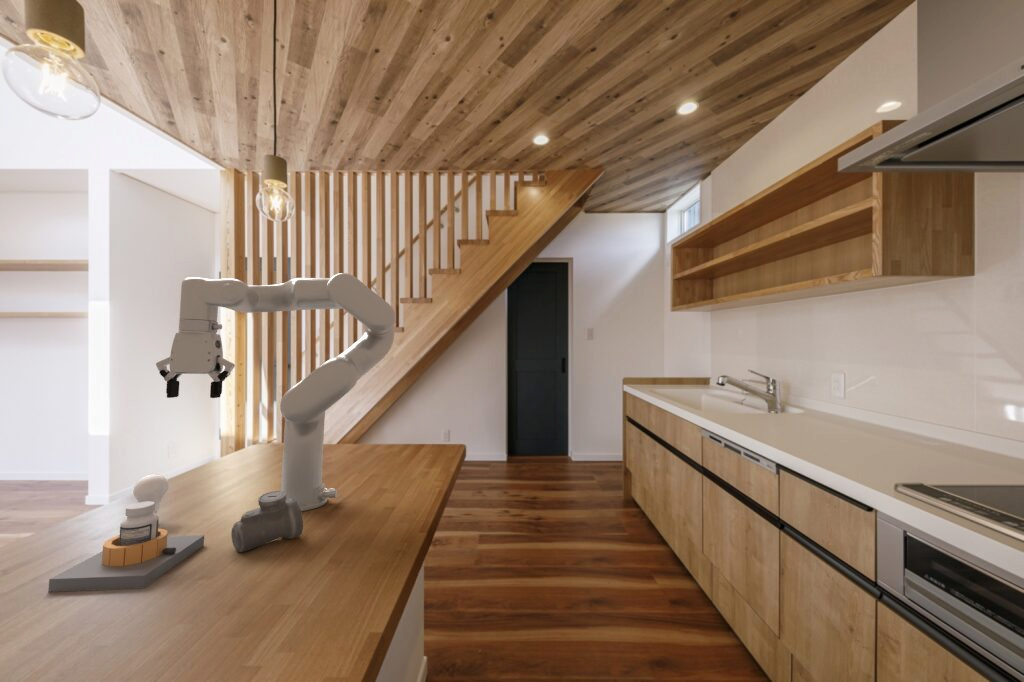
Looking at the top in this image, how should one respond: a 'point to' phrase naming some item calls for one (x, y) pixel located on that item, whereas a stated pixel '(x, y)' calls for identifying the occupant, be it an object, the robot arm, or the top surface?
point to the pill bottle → (139, 524)
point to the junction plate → (127, 564)
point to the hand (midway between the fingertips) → (194, 397)
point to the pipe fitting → (268, 522)
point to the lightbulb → (151, 489)
